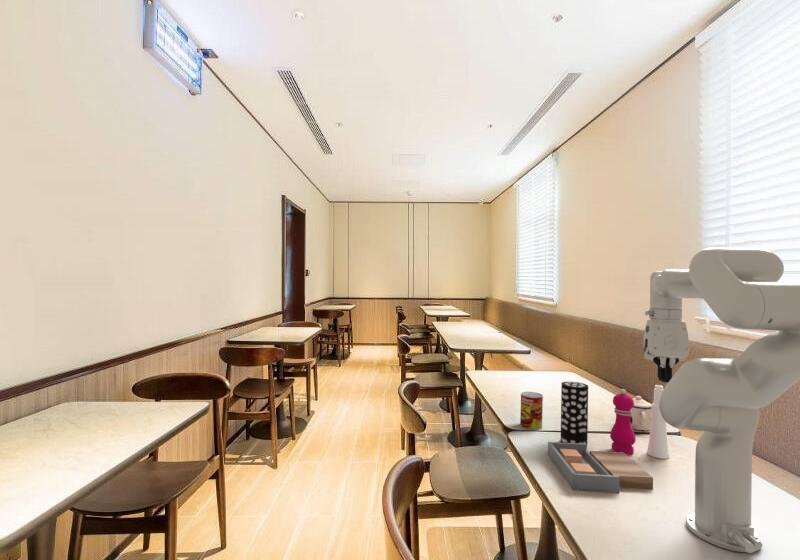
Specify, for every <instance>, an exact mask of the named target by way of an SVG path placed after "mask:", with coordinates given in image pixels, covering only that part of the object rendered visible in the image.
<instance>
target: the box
mask: <svg viewBox="0 0 800 560" xmlns="http://www.w3.org/2000/svg"><path fill="white" fill-rule="evenodd" d="M559 449H575V450H577V451H578V452H579V453H580V455H581V456H582V464H589V465H590V466H591V468H592V469H593V470H594V471H595V474H576V473H575V472H574V471H573V469H572V468H571V467H570V464H568V463H567V462H566V461H565V459H564V458H563V457H562V456H561V454H560V453H559ZM547 455H548V457H549V459H550V460H551V461H552V463H553V464H554V465H555V466H556V468H557V469H558V471H559V472H560V474H561V475H562V477H563V478H564V479H565V481H566V482H567V483H568V485H569V486H570V487H571V489H572V490H573V491H577V490H578V491H581V492H596V491H597V493H600V492H601V493H615V494H617V493H618V494H619V493H620V487H619V478H620V477H619V476H615V475H611V474H610V473H609V472H608V471H607V470H606V469H605V468H604V467H603V466H602V465H601V464H600V463H599V462H598V461H597V460H596V459H595V458H594V457H593V456H592V455H591V454H590V451H588V443H587V444H581V443H561V442H559V441H558V442H555V441H554V442H553V441H548V442H547Z"/></svg>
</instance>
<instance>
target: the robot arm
mask: <svg viewBox="0 0 800 560" xmlns="http://www.w3.org/2000/svg"><path fill="white" fill-rule="evenodd" d="M688 266H689V267H688V268H686V269H685V268H683V269H682V268H681V269H677V268H673V269H672V268H671V269H663V270H662V271H661V270H659V271H653V272H652V273H651V274H650V276H649V280H650V281H649V308H648V310H645V312H644V315H645V316H648V318H649V319H647V320H646V324H645V327H644V333H643V352H644V356H643V359H646V360H648V361H652V362H653V363H654V364H655V366H656V367H657V378H658V381H660V382H662V383H665V384H666V383H667V384H666V385H665V386H664V387H663V389H664V390H663V391H662V394H661V396H660V401H659V409H660V413H661V415H662V417H663V419H664V420H665V421H666V424H667V425H669V426H671V427H673V428H676V429H679V430H685V431H686V430H687V431H696V432H697V431H699V432H702V433H701V435H700V436H699V438H698V440H697V442H696V446H695V455H694V456H695V459H694V460H695V463H694V466H695V468H694V470H695V471H694V512H693V513H692V512H691V513H690V514H688V515H686V517H685V524H686V525H685V526H687V528H688V529H689V530H690V531H691V533H693V534H694V535H695V536H697V537H698V538H700V539H701V540H704V541H705V542H707V543H710V544H711V545H714V546H716V547H719V548H722V549H725V550H728V551H732V552H739V553H748V554H752V553H755V552H757V551H760V550H761V549H762V547H763V543H762V541H761V538H760V537H759V536H758V534H757V533H756V532H755V527H754V526H753V525H752V487H753V486H752V478H753V477H752V476H753V475H752V474H753V471H752V469H753V450H754V449H753V448H754V441H755V440H754V439H755V436H756V431H757V428H758V424H759V420H760V410H759V409H761V408H765V407H767V406H769V405H771V404H772V403H773V402H774V401H776V400H777V399H778V398H779V397H781V395H783V394H784V393H785V392H786V391H787V390H789V389H790V388H791V387H792V386H794V385H795V384H796V383H797V382H798V381H799V380H800V282H796V281H779V280H780V279H781V278H782V276H783V275H784V270H785V267H784V263H783V261H782V259H781V257H779V256H778V255H777V254H775V253H774V252H772V251H770V250H767V249H764V248H759V247H708V248H704V249H702V250H700V251H698V252H697V253H696V254H695V255H693V257H692V258H691V261H690V263H689V265H688ZM683 299H703V300H704V302H705V303H706V304H707V305H708V306H709V308H710V309H711V311H712V312H713V313H714V314H715V316H716V317H717V318H718V319H719V320H720V321H721V322H722V323H723V324H724V325H727V326H729V327H731V328H735V329H740V330H760V331H762V330H764V331H774V332H772V333H769V334H767V335H764V336H763V337H760V338H758V339H757V340H754V341H753V342H752V343H750V345H748V346H747V348H746V349H745V350H744V351H743V352H742V353H741V354H740V355H737V357H733V358H729V357H728V358H715V357H697V358H696V357H695V358H691V359H690V360H687V358H688V357H689V355H690V342H689V333H688V326H687V324H686V321H685V320H683ZM681 362H684V363H683V364H681V366H680V367H679V368H678V369H677V371H676V372H675V373H674V375H673V369H674V368H675V366H676V365H677V364H678V363H681Z"/></svg>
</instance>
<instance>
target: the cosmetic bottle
mask: <svg viewBox="0 0 800 560" xmlns="http://www.w3.org/2000/svg"><path fill="white" fill-rule="evenodd" d="M663 390H664V386H663V385H660V384H655V385H654V388H653V402H652V403H651V405H652V411H651V426H650V430H649V440H648V446H647V451H646V453H647V455H649V456H651V457H653V458H657V459H661V460H662V459H663V460H667V459H669V458H670V452H669V445H668V435H667V430H668V429H667V422H666V421H665V420H664V419H663V417H662V415H661V413H660V409H659V401H660V396H661V394H662V391H663Z"/></svg>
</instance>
